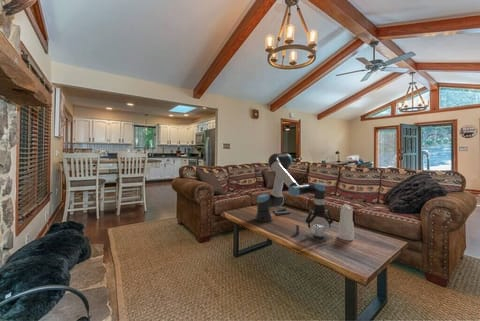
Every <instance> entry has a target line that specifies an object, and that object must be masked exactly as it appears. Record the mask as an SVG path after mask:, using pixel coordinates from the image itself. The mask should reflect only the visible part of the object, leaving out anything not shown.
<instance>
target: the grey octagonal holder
mask: <svg viewBox="0 0 480 321" xmlns="http://www.w3.org/2000/svg"><path fill="white" fill-rule="evenodd" d="M317 226H321V227H317ZM312 233H313V234H314V235H316V236H324V235H325V234H326V225H324V224H320V223H317V224H316V223H315V224H313V225H312Z"/></svg>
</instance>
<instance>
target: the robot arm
mask: <svg viewBox="0 0 480 321" xmlns="http://www.w3.org/2000/svg"><path fill="white" fill-rule="evenodd" d="M267 163H268V166H269V167H270V169H271V170H272V171H274V172H275V177H274V181H273V188H272V191H271V192H270V194H268V193H265V194H264V193H262V194H259V195H257V198H256V204H257V206H256V207H257V208H256V209H257V210H256V211H257V212H256V213H255V214H256V216H255V221H256V222H259V223H269V222H272V219H273V218H272V216H271V215H272V214H271V212H270V210H271V209H272V208H279V207H282V206H283V205H284V203H285V199H284V198H285V197H284V195H283V193H282V192H283V188H284V185H286V187H287V188H288V193H289V196H292V197H296V196H303V195H313V203H314V204H313V210H311V209H309V213H308V215H307V217H306V219H305V223H306V224H307V228H308V231H309V234H310V233H312V223H313V221H314V220H315V219H316V218H318V217H323V218H324V220H325V221H326V232H327V233H330V228H331V224H333V223H334V220H333V218H332V216H331V214H330V211H329V210H328V209H326V210H325V208H326V206H325V205H326V203H325V202H326V201H325V200H326V197H325V196H326V185H325V183H322V182H314V184H312V183H307V182H306V183H303V184H299V183H298V182H297V181H296V180H295V179H294V178H293V177H292V175H291V174H290V173H289V172H288V170H289V167H290V166H291V165H292V164H293V158H292V155H290V154H289V153H285V152H284V153H282V152H281V153H273V154H271V155H270V156H269V157H268V161H267ZM325 214H326V215H327V216H326V215H325Z"/></svg>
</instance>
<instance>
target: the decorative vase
mask: <svg viewBox="0 0 480 321" xmlns="http://www.w3.org/2000/svg"><path fill="white" fill-rule="evenodd" d="M339 212H340V214H339V215H340V216H339V221H338V231H337V233H338V234H337V235H338V238H339V239H341V240H344V241H354V240H355V232H354V230H355V228H354V226H355V225H354V224H355V223H354V221H353V220H354V219H353V218H354V217H353V206H352V205H349V204H348V203H344V204H343V205H342V207H341V208H340V211H339Z"/></svg>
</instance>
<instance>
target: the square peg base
mask: <svg viewBox="0 0 480 321" xmlns="http://www.w3.org/2000/svg"><path fill="white" fill-rule="evenodd" d="M317 227H321V226H317ZM304 236H306V237H308V238H310V239H312V240H315V241H316V242H319V244H323V243H326V242H330V241H333V239H334V237H333V236H331V235H328V234H326V233H325V235H324V236H316V235H314V234H313V232H311V233H310V232H309V233H308V234H307V233H306V234H305V235H304ZM329 240H330V241H329Z"/></svg>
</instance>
